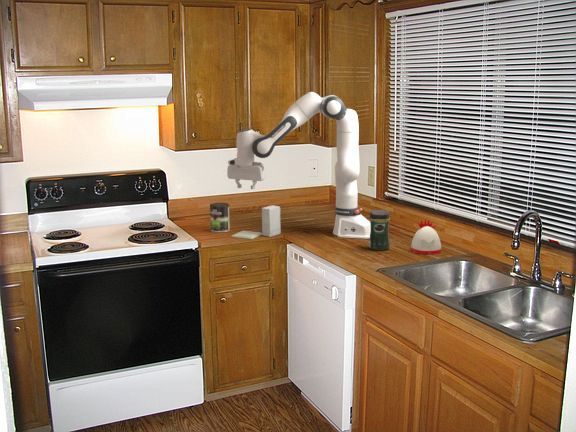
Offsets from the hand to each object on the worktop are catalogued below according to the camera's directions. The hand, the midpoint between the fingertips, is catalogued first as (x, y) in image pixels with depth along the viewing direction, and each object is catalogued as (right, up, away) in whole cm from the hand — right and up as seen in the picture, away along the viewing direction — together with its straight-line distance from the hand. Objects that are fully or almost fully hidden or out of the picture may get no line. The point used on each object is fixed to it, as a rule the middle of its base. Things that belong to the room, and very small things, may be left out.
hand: (246, 188), depth 332 cm
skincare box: (+13, -24, +6) cm, 28 cm away
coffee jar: (+65, -30, -22) cm, 74 cm away
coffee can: (-15, -22, +17) cm, 32 cm away
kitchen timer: (+86, -30, -26) cm, 95 cm away
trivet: (0, -24, +5) cm, 25 cm away
